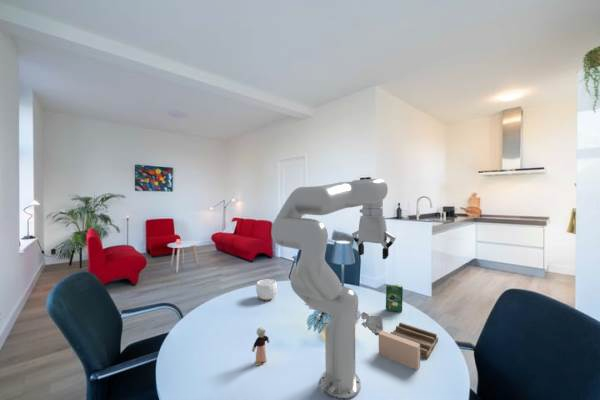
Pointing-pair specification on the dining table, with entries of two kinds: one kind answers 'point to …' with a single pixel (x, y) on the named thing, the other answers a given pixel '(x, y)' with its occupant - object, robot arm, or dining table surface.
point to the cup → (266, 289)
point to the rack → (417, 338)
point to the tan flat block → (399, 349)
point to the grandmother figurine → (260, 346)
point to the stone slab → (372, 323)
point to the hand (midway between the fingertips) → (372, 256)
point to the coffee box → (394, 297)
